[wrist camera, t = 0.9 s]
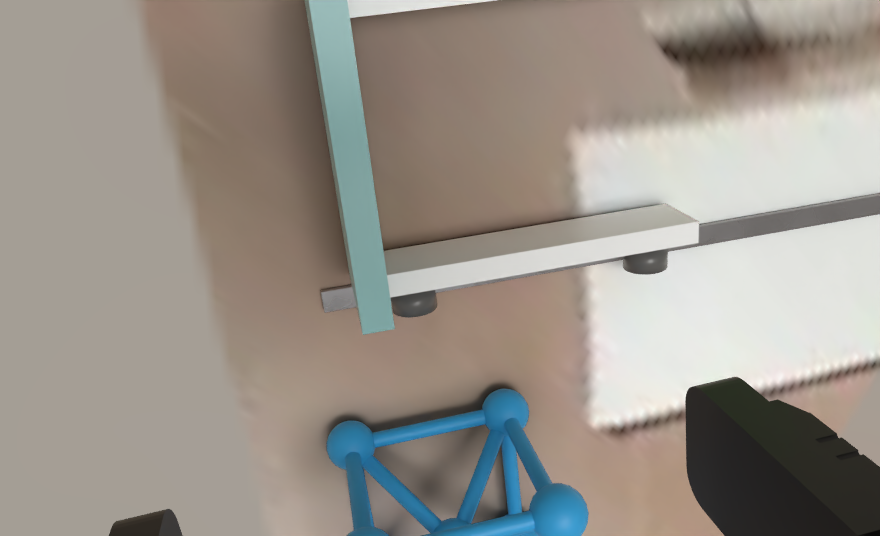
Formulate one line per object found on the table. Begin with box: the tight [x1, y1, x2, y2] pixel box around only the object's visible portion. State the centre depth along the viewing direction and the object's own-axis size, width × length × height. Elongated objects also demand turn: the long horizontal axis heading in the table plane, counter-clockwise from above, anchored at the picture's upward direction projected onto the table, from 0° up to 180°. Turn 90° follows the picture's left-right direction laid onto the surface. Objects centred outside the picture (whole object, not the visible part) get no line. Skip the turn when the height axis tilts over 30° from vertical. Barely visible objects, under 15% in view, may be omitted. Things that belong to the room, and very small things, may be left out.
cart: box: [304, 0, 699, 335], centre depth 29 cm, size 15×15×6 cm
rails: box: [321, 193, 880, 312], centre depth 33 cm, size 15×32×1 cm, turn 96°
